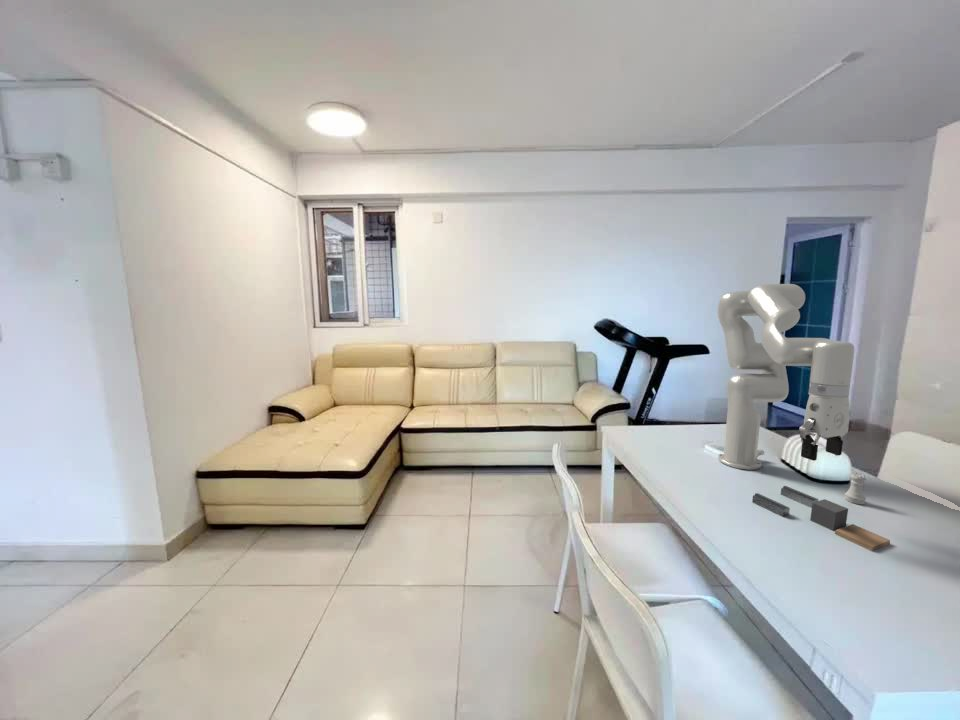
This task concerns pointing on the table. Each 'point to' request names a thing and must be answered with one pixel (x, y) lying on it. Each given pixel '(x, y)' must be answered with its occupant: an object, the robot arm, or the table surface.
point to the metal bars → (781, 508)
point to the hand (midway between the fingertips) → (821, 455)
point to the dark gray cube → (829, 514)
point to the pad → (862, 537)
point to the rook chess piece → (856, 489)
